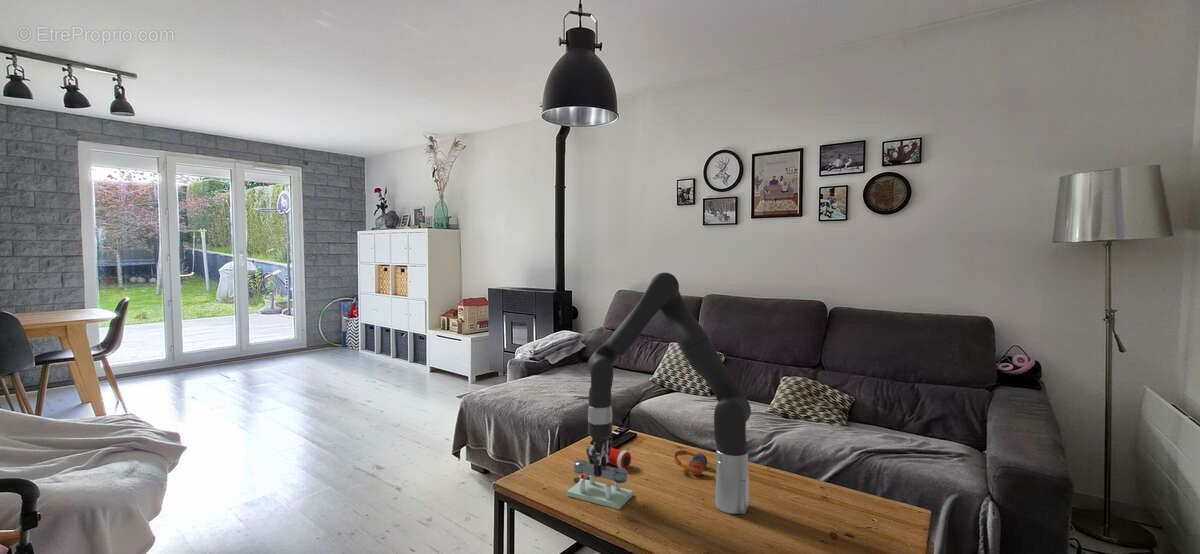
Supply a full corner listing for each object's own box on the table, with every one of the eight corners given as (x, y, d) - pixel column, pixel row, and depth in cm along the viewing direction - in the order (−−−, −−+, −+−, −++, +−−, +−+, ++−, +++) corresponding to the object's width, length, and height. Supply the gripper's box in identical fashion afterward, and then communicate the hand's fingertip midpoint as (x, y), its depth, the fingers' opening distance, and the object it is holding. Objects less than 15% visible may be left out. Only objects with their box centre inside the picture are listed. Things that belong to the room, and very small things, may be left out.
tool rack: (632, 495, 160) (632, 477, 160) (619, 509, 152) (619, 491, 151) (582, 483, 169) (582, 466, 169) (567, 496, 160) (566, 478, 160)
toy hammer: (589, 489, 165) (588, 470, 165) (563, 479, 173) (563, 460, 173) (632, 466, 182) (632, 449, 182) (606, 458, 190) (606, 441, 190)
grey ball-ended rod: (571, 471, 162) (571, 463, 162) (578, 466, 166) (578, 458, 166) (623, 484, 154) (623, 475, 154) (629, 478, 158) (629, 470, 158)
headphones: (732, 473, 182) (678, 452, 189) (735, 459, 182) (681, 439, 189) (725, 494, 167) (666, 471, 174) (729, 479, 166) (670, 456, 173)
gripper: (599, 411, 167) (599, 463, 168) (578, 424, 155) (578, 480, 155) (620, 414, 164) (620, 467, 164) (600, 428, 151) (600, 485, 152)
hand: (600, 473), depth 160 cm, fingers closed on grey ball-ended rod, 3 cm apart
